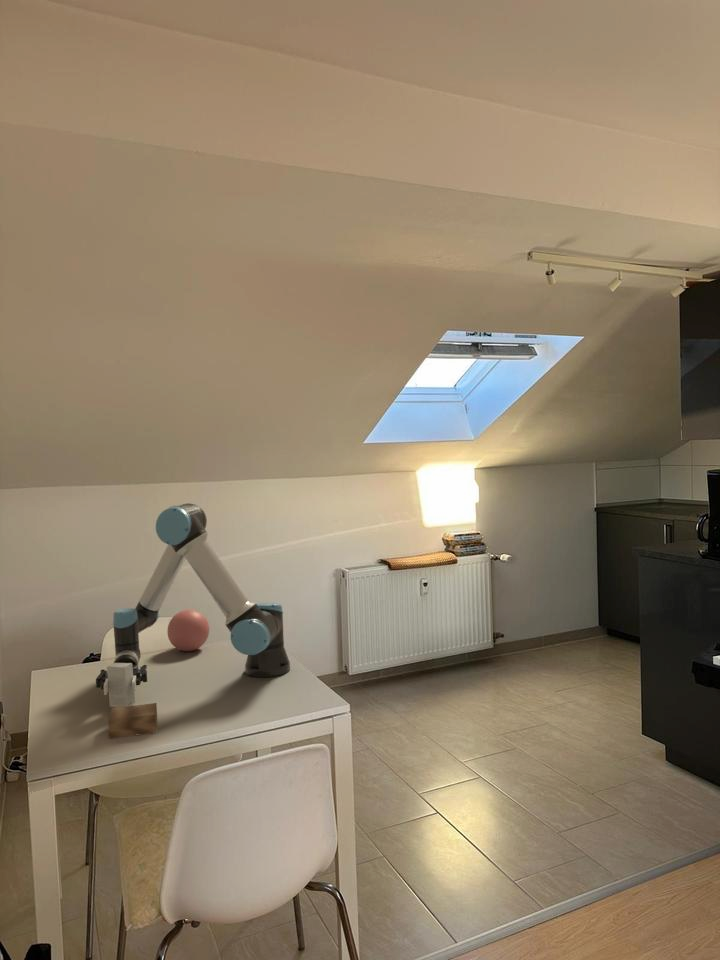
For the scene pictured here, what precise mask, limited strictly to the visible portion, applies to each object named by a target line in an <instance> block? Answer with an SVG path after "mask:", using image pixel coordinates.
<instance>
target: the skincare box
mask: <svg viewBox="0 0 720 960" xmlns="http://www.w3.org/2000/svg"><path fill="white" fill-rule="evenodd" d="M113 663H114V662H113ZM113 663H112V664H110V665H107V666H106V670H107V675H108V688H109V690H108V700H109V701H108V703H109V707H110V708H118V707H127V706H134V705H135V704H136V696H135V691H134V692H133V690H132V680H133V667H132V663H114V664H113Z"/></svg>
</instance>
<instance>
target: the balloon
mask: <svg viewBox="0 0 720 960" xmlns="http://www.w3.org/2000/svg"><path fill="white" fill-rule="evenodd" d="M166 630H167V632H166V633H167V638H168V640H169V642H170V644H171V645H172V646H173V647H174V648H175V649H177V650H179V651H182V652H193V651H195V650H198V649H199V648H201V647H202V646H203V645H204V644H205V643H206V642H207V640H208V638H209V634H210V625H209V621H208V619H207V618H206V617H205V615H204V614H202V613H201V612H199V611H198V610H194V609H185V610H181V611H179V612H177V613H176V614H175V615H173V616H172V618H170V620H169V622H168V626H167V629H166Z"/></svg>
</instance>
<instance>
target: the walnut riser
mask: <svg viewBox="0 0 720 960" xmlns="http://www.w3.org/2000/svg"><path fill="white" fill-rule="evenodd" d="M157 704H158V703H157V702H155V703H154V702H153V703H147V704H145V703H144V704H137V705H135V704H134V705H131V706H127V707H110V708H111V709H110V712H109V716H108V737H109V739H116V738H115V737H117V738H123V737H122V736H125V737H132V736H131V735H133V736H137V735H136V734H141V735H147V733H149V734H153V732H156V733H157V731H158V730H157V727H158V707H157V706H158V705H157ZM156 730H157V731H156Z"/></svg>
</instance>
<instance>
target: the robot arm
mask: <svg viewBox="0 0 720 960" xmlns="http://www.w3.org/2000/svg"><path fill="white" fill-rule="evenodd" d="M207 524H208V523H207V515H206V513H205V511H204V509H202V508H201V506H199V505H196V504H194V503H190V502H189V503H183V504H180V505H172V506H170V507H168V508H166V509H164V510H163V511H161V513H160V514H159V515H158V517H157V519H156V522H155V532H156V535H157V537H158V538H159V540H160V541H161V542H163V543H164V544H166V545H167V546H166V548H165V550H164V552H163V553H162V555H161V557H160V559H159V562H158V564H157V565H156V567H155V569H154V571H153V573H152V575H151V577H150V578H149V581H148V582H147V585H146V587H145V589H144V590H143V593H142V595H141V596H140V598H139V601H138V603H137V604H136V606H135V608H133V607H129V608H128V607H127V608H120V609H117V610H115V611H114V612H113V614H112V615H113V621H112V625H113V635H114V636H113V637H114V650H115V651H114V652H115V658H114V660H113V663H112V664H114V663H132V667H133V680H132V690H133V692H134V693H135V692H136V689H137V686H140V685H141V683H142V682H143V683H147V682H148V667H147V666H148V665H147V664H144V665H142V666H140V667H139V664H140V663H139V662H140V661H141V660H140V659H141V649H140V640H139V639H140V637H139V634H140V633H142V632H143V631H144V630H147V629H148V628H151V627H152V626H154V625H155V624H156V622H157V621H158V619H159V618H160V617H159V616H160V615H159V614H160V613H159V611H160V609H161V608H162V605H163V603H164V602H165V599H166V598H167V596H168V594H169V592H170V590H171V588H172V586H173V584H175V583H174V582H175V581H176V578H177V577H178V575H179V573H180V571H181V569H182V567H183V565H184V563H185V561H186V560H187V562H188V563H189V565H190V567H191V568H192V570H193V571H194V572H195V574H196V575H197V577H198V578H199V580H200V581H201V583H202V584H203V585H204V587H205V588H206V590H207V591H208V593H209V594H210V596H211V597H212V599H213V600H214V602H215V603H216V605H217V606H218V608H219V609H220V610H221V612H222V613H223V615H224V616H225V626H226V628H227V629H228V631H229V632H230V642H231V645H232V647H233V648H234V649H235V650H236V651H237V652H239V653H240V654H243V655H246V656H247V657H246V661H245V665H244V673H245V674H246V676H249V677H255V678H271V677H278V676H280V675H285V674H287V673H288V672H290V671H291V661H290V660H289V656H288V654H287V651H286V648H285V641H284V616H283V615H284V612H283V605H282V604H281V603H279V602H254V601H253V602H252V601H249V600H248V598H247V597H246V595H245V594H244V592H243V591H242V589H241V588H240V587H239V585H238V584H237V582H236V581H235V579H234V578H233V576H232V574H230V572H229V571H228V569H227V568H226V566H225V564H223V561H222V560H221V559H220V557H219V556H218V555H217V554H216V552H215V550H214V549H213V548H212V545H210V543H209V541H208V539H207V538H208V531H207V530H206V528H207ZM95 687H96V688H97V689H98V688H100V690H103V695H104V696H107V695H108V694H109V688H108V675H107V669H101V670H100V673H99V674H98V675H97V677H96V678H95Z"/></svg>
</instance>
